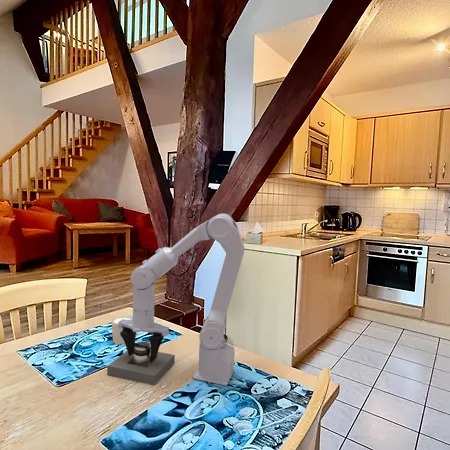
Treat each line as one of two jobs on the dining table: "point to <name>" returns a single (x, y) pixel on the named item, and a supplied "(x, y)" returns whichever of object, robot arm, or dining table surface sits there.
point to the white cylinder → (118, 330)
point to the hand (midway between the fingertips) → (142, 356)
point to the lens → (142, 354)
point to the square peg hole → (141, 368)
